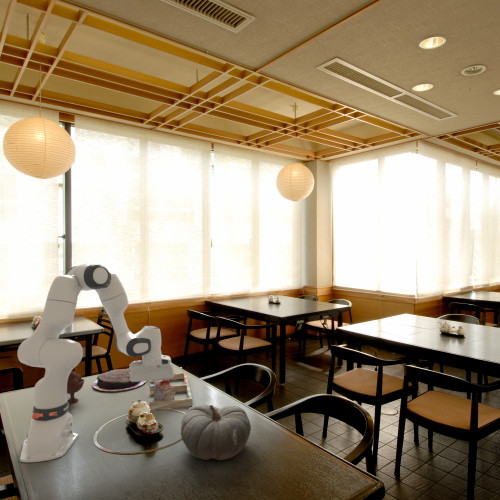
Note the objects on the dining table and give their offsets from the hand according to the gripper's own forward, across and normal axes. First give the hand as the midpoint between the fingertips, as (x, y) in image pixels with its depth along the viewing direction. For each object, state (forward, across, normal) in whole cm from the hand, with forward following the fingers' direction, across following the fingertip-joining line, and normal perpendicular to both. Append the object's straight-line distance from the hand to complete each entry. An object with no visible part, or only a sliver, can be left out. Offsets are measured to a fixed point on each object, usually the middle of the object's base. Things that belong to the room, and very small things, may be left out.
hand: (152, 388), depth 185 cm
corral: (+6, +8, +9) cm, 14 cm away
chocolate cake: (+7, -17, +32) cm, 36 cm away
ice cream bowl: (+6, -37, +11) cm, 39 cm away
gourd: (+6, +22, -52) cm, 57 cm away
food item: (+6, +5, -1) cm, 8 cm away
